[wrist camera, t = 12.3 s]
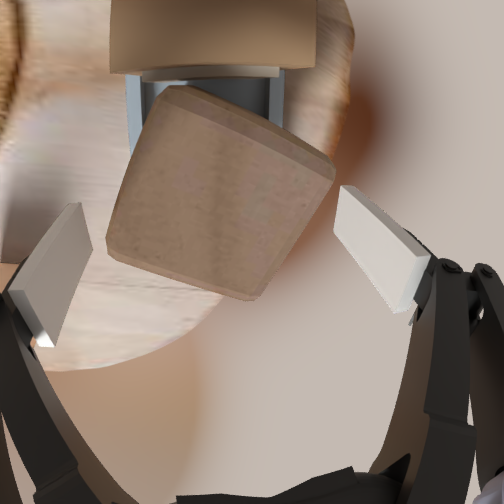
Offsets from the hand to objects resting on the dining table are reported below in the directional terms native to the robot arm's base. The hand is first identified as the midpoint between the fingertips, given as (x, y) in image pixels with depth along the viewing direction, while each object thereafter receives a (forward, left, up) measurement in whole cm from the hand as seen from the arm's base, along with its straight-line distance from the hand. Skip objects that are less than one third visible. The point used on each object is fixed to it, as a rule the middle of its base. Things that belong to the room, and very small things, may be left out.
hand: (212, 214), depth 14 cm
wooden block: (0, 0, -20) cm, 20 cm away
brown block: (-11, 0, -20) cm, 23 cm away
